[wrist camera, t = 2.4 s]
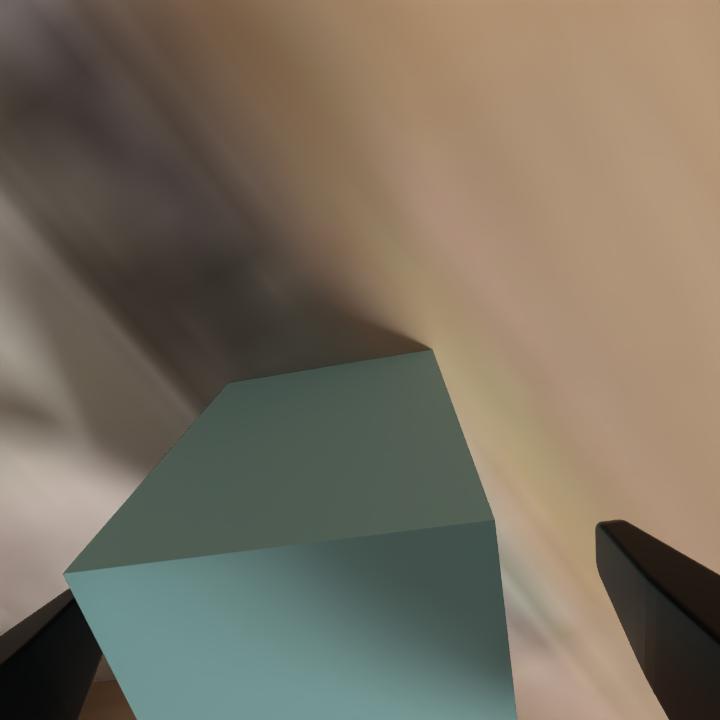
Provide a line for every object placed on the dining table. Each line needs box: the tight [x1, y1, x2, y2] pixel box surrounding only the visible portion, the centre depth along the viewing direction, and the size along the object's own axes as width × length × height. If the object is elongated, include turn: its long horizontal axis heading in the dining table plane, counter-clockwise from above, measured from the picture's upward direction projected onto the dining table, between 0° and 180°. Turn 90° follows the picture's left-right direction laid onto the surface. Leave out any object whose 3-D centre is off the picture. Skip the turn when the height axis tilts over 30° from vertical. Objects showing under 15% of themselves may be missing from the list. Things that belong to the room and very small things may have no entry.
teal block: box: [63, 349, 517, 720], centre depth 9 cm, size 5×5×6 cm
